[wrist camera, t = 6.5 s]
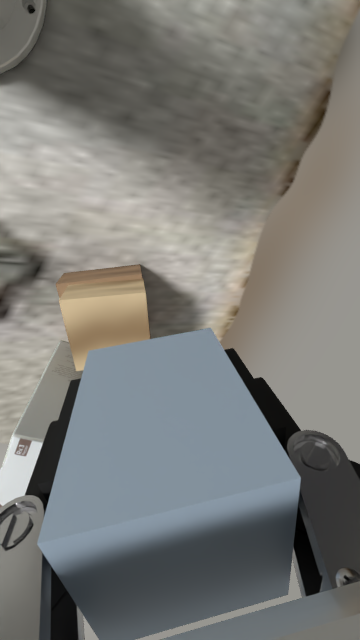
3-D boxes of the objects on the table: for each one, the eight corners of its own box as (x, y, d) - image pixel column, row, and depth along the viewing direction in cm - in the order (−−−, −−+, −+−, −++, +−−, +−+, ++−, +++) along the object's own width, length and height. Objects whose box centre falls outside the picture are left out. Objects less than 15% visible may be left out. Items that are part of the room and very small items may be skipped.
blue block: (88, 350, 10) (36, 544, 4) (210, 327, 10) (300, 477, 5) (116, 439, 12) (105, 648, 6) (217, 417, 12) (287, 594, 7)
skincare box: (85, 401, 36) (61, 524, 23) (37, 390, 34) (-19, 517, 21) (108, 350, 33) (95, 456, 20) (57, 335, 31) (7, 440, 18)
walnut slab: (64, 272, 29) (55, 284, 25) (139, 263, 30) (141, 273, 26) (82, 337, 32) (76, 356, 29) (148, 328, 33) (151, 344, 30)
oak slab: (68, 284, 26) (58, 300, 22) (143, 278, 27) (145, 292, 23) (82, 348, 29) (76, 371, 25) (149, 340, 30) (152, 361, 26)
